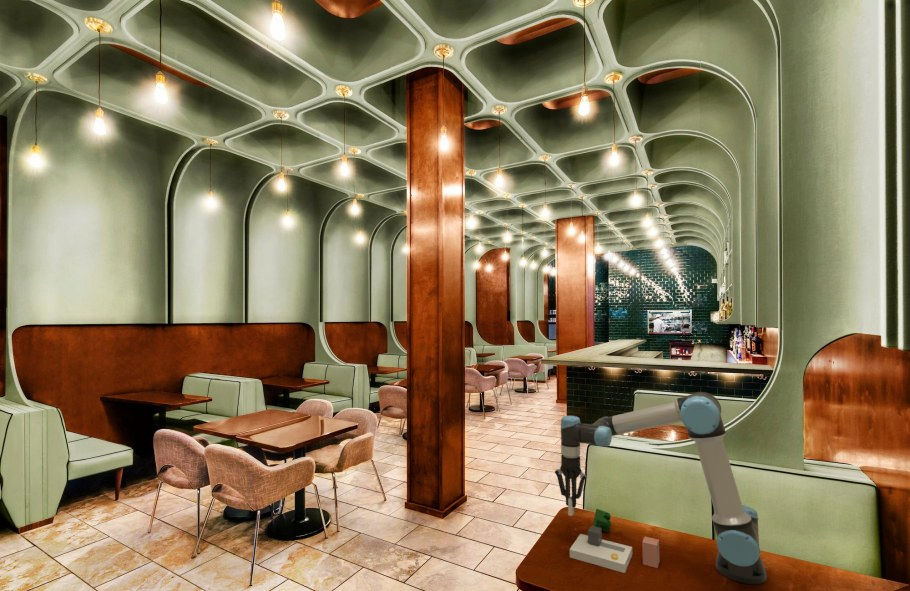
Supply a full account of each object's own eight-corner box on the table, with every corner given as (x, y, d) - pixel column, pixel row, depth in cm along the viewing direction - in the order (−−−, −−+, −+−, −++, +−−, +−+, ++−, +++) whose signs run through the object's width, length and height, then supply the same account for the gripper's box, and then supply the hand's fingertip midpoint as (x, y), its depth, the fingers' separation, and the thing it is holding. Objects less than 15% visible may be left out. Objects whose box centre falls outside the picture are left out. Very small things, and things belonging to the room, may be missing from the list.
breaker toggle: (601, 540, 174) (601, 528, 174) (598, 546, 170) (598, 533, 170) (591, 537, 176) (591, 525, 176) (588, 543, 172) (587, 530, 172)
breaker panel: (632, 555, 169) (632, 544, 170) (624, 573, 158) (624, 561, 158) (580, 541, 180) (580, 531, 180) (569, 557, 168) (569, 546, 168)
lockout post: (659, 561, 165) (658, 539, 165) (657, 568, 160) (657, 545, 161) (645, 557, 167) (644, 536, 168) (642, 564, 163) (642, 542, 164)
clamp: (606, 543, 187) (611, 528, 183) (592, 537, 189) (596, 522, 185) (607, 520, 197) (612, 506, 194) (594, 516, 199) (598, 501, 195)
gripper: (589, 455, 179) (589, 514, 178) (558, 450, 186) (558, 507, 185) (584, 460, 173) (584, 522, 172) (552, 454, 180) (552, 513, 179)
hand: (571, 514), depth 178 cm, fingers closed
